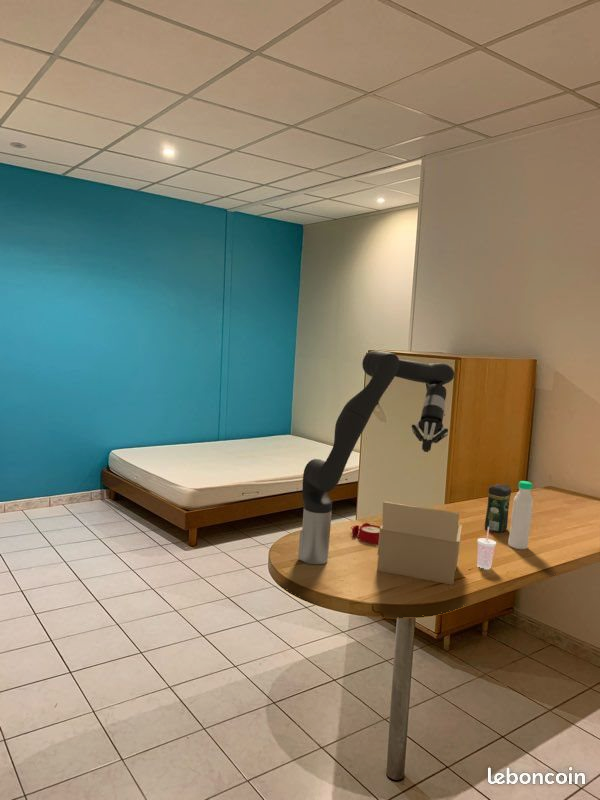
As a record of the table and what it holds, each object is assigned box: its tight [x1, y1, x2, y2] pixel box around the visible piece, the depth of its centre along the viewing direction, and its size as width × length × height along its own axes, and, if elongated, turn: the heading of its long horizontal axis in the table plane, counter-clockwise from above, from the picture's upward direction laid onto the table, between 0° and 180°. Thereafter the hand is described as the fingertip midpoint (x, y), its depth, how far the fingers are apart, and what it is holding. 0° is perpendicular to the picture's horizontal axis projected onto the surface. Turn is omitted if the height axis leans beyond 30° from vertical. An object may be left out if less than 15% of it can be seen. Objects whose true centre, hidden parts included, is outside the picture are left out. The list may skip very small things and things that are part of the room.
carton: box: [376, 523, 463, 586], centre depth 201 cm, size 25×18×14 cm
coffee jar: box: [484, 483, 512, 533], centre depth 249 cm, size 10×8×19 cm
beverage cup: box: [476, 527, 497, 570], centre depth 207 cm, size 6×6×14 cm
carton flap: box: [381, 501, 460, 542], centre depth 189 cm, size 23×11×1 cm
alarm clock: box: [350, 522, 381, 545], centre depth 228 cm, size 10×6×15 cm
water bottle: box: [507, 480, 534, 550], centre depth 229 cm, size 7×7×25 cm
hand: (425, 450), depth 205 cm, fingers closed
